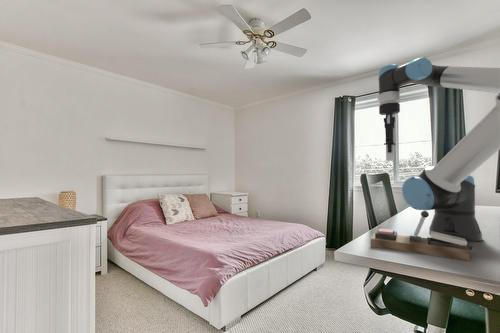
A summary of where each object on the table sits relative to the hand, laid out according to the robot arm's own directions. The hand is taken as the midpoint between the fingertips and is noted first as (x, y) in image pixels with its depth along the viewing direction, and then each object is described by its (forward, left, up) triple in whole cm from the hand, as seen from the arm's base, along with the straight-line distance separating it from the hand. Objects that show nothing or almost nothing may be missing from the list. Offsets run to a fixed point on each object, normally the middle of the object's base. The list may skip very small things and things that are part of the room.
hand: (389, 160), depth 104 cm
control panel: (+6, +26, -28) cm, 39 cm away
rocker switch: (-1, +30, -24) cm, 39 cm away
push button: (+13, +22, -26) cm, 36 cm away
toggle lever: (+6, +26, -24) cm, 36 cm away
